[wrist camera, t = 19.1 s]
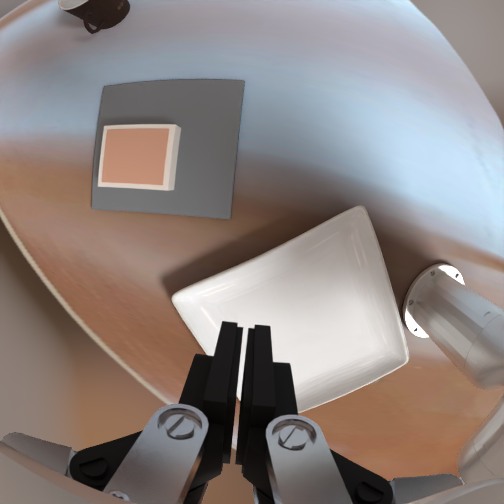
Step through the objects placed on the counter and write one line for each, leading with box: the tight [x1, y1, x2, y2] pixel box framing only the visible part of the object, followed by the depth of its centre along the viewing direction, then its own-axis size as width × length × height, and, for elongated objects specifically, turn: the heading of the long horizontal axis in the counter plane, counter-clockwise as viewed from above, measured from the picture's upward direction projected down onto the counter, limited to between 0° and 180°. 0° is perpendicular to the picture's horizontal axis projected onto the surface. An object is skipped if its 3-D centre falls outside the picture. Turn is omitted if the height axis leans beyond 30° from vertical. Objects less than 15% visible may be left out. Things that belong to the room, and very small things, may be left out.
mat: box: [92, 79, 245, 219], centre depth 33 cm, size 20×18×1 cm
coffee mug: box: [59, 0, 130, 34], centre depth 23 cm, size 12×9×10 cm
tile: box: [98, 124, 181, 191], centre depth 32 cm, size 3×8×10 cm
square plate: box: [171, 205, 409, 413], centre depth 38 cm, size 27×27×4 cm
